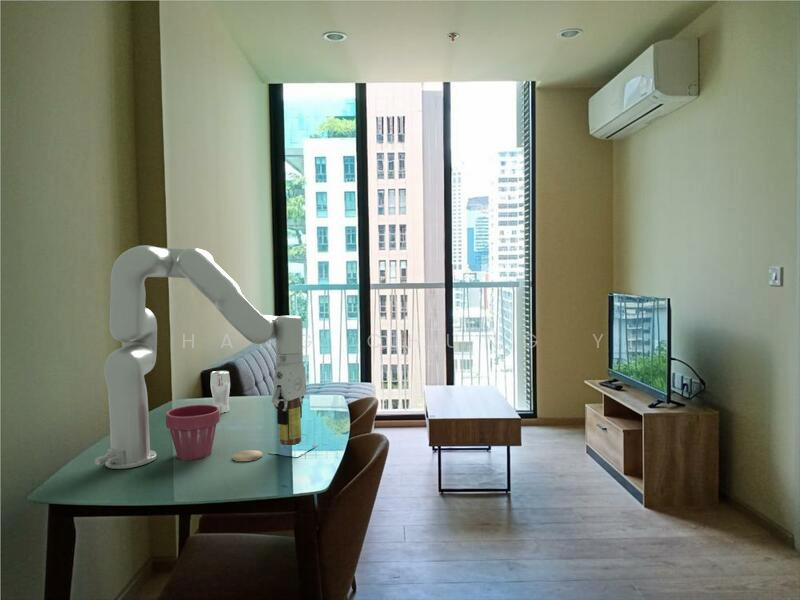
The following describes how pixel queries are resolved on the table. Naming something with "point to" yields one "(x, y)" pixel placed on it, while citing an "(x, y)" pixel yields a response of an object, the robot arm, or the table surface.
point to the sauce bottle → (291, 424)
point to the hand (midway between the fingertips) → (289, 420)
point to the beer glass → (220, 389)
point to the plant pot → (193, 430)
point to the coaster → (247, 455)
